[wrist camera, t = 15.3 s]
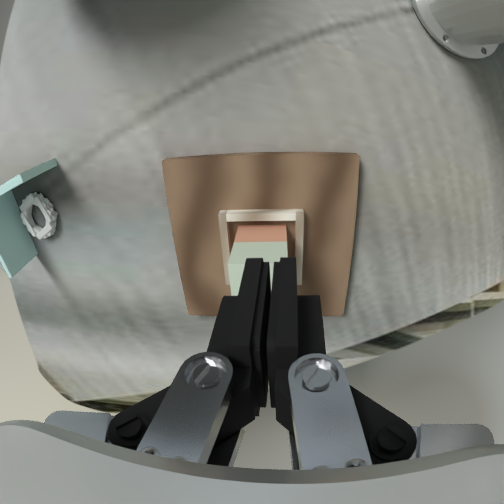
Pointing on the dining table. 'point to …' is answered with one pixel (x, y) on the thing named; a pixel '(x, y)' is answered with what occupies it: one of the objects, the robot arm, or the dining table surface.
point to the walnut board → (263, 218)
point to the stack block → (256, 249)
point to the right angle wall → (23, 221)
